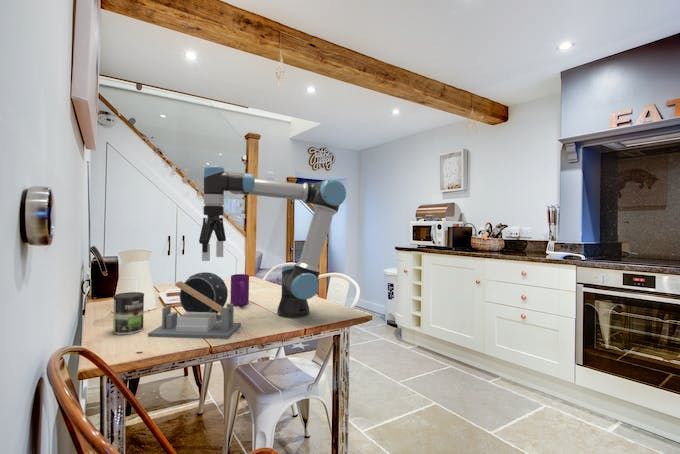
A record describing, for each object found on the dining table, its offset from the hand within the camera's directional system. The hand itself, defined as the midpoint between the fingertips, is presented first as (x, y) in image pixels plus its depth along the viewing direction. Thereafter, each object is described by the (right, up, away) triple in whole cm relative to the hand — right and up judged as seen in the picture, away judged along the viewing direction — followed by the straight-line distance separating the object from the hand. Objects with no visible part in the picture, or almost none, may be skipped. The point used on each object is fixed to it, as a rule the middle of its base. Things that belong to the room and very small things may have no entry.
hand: (213, 258), depth 140 cm
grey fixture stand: (-6, -28, -1) cm, 29 cm away
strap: (-4, -17, -2) cm, 17 cm away
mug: (0, -28, +40) cm, 48 cm away
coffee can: (-32, -28, -3) cm, 42 cm away
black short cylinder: (-11, -28, +18) cm, 35 cm away
